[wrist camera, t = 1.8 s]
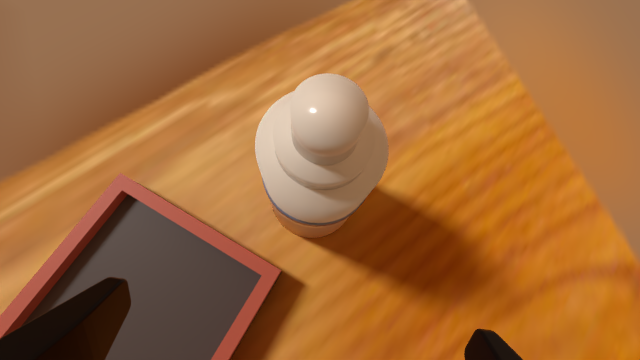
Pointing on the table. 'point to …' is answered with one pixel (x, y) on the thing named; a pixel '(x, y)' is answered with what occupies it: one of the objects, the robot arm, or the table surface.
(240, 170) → the table surface
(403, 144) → the table surface
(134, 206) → the lacquer tray
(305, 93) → the white sake bottle
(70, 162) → the table surface
